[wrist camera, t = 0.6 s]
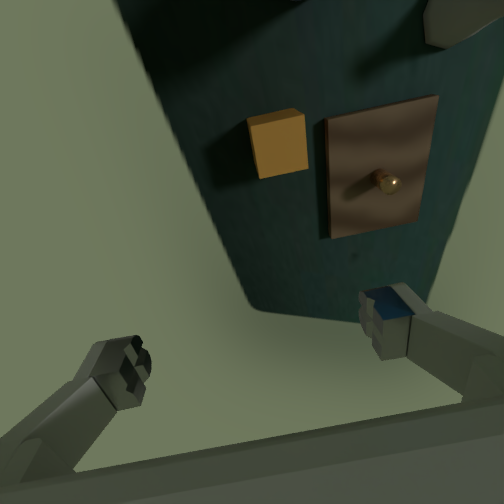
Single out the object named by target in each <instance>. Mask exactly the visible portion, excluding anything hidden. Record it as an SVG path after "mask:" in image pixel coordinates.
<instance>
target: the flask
mask: <svg viewBox="0 0 504 504" xmlns="http://www.w3.org/2000/svg"><path fill="white" fill-rule="evenodd" d="M503 16H504V0H429V1H428V3H427V6H426V8H425V11H424V13H423V21H424V32H425V43H426V44H429V45H433V46H436V47H440V48H444V49H448V48H450V47H452V46H454V45H455V44H457V43H459V42H461V41H463V40H465V39H467V38H469V37H471V36H472V35H474V34H475V33H477V32H478V31H480V30H481V29H483V28H484V27H486V26H487V25H488V24H490V23H492V22H493V21H495V20H496V19H498V18H500V17H503Z"/></svg>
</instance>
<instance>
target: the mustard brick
mask: <svg viewBox="0 0 504 504" xmlns="http://www.w3.org/2000/svg"><path fill="white" fill-rule="evenodd" d="M246 119H247V124H248V130H249V135H250V141H251V146H252V152H253V157H254V163H255V166H256V169H257V172H258V175H259V178H260V179H262V178H266V177H271V176H276V175H280V174H285V173H289V172H294V171H299V170H303V169H308V158H307V145H306V131H305V117H304V114H302V113H301V112H299V111H297V110H295V109H294V108H290V109H286V110H281V111H277V112H272V113H268V114H263V115H259V116H254V117H250V118H246Z"/></svg>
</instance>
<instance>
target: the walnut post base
mask: <svg viewBox="0 0 504 504" xmlns="http://www.w3.org/2000/svg"><path fill="white" fill-rule="evenodd" d="M438 99H439V95H433V94H431V95H426V96H422V97H417V98H413V99H408V100H404V101H399V102H395V103H390V104H385V105H381V106H376V107H372V108H367V109H363V110H358V111H354V112H349V113H345V114H340V115H336V116H331V117H327V118H324V121H325V149H326V176H327V204H328V231H329V236H330V237H331V239H334V238H339V237H344V236H348V235H353V234H358V233H363V232H368V231H373V230H377V229H382V228H387V227H392V226H397V225H401V224H406V223H411V222H416V221H418V215H419V209H420V204H421V198H422V192H423V186H424V180H425V174H426V169H427V163H428V157H429V151H430V145H431V139H432V134H433V128H434V122H435V116H436V110H437V105H438Z"/></svg>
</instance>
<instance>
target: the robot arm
mask: <svg viewBox="0 0 504 504" xmlns="http://www.w3.org/2000/svg"><path fill="white" fill-rule="evenodd" d="M359 301H360V303H361V304H362V306H361V308H360V309H359V319H360V323H361V326H362V328H363V330H364V332H365V334H366V336H368V337H370V338H372V346H373V348H374V349H375V351H376V353H377V354H378V356H379V358H380V359H381V360H382V361H383V360H389V359H396V358H402V357H407V358H408V359H409V360H411V361H412V362H414V363H415V364H417V365H418V366H420V367H421V368H423V369H424V370H426V371H427V372H429V373H430V374H432V375H433V376H435V377H436V378H438V379H439V380H440V381H442V382H444V383H445V384H446V385H448V386H449V387H451V388H452V389H454V390H455V391H457V392H458V393H460V394H461V395H463V397H462V401H461V403H457V404H451V405H446V406H440V407H435V408H430V409H424V410H418V411H413V412H407V413H402V414H396V415H391V416H385V417H380V418H374V419H369V420H363V421H358V422H353V423H348V424H342V425H336V426H331V427H325V428H320V429H315V430H309V431H304V432H298V433H292V434H287V435H282V436H276V437H271V438H265V439H260V440H254V441H248V442H243V443H237V444H232V445H227V446H221V447H215V448H210V449H204V450H199V451H193V452H188V453H182V454H177V455H171V456H166V457H160V458H155V459H149V460H144V461H138V462H133V463H127V464H122V465H116V466H111V467H106V468H100V469H94V470H88V471H83V472H77V473H76V472H75V471H74V470H73V468H74V467H75V466H76V464H77V463H78V462H79V461H80V459H81V458H82V456H83V455H84V454H85V453H86V451H87V450H88V449H89V448H90V446H91V445H92V444H93V443H94V441H95V440H96V439H97V437H98V436H99V435H100V433H101V432H102V431H103V430H104V428H105V427H106V426H107V425H108V423H109V422H110V421H111V420H112V418H113V417H114V416H115V414H116V413H117V411H119V410H124V409H129V408H133V407H137V406H141V403H142V400H143V397H144V393H145V390H146V387H145V385H144V382H145V381H146V380H147V379H148V378H149V377H150V373H151V357H150V355H149V353H148V351H147V350H145V349H143V348H142V347H141V346H142V344H143V341H142V340H141V338H140V336H138V335H133V336H127V337H122V338H115V339H110V340H105V341H99V342H96V343H95V344H93V345H92V347H91V349H90V351H89V352H88V354H87V356H86V358H85V360H84V361H83V363H82V365H81V366H80V368H79V370H78V372H77V373H76V375H75V377H74V379H73V380H72V381H69V382H67V383H66V384H64V386H62V387H61V388H60V389H59V390H58V391H56V392H55V393H54V394H53V395H51V396H50V397H49V398H48V399H47V400H45V401H44V402H43V403H42V404H41V405H39V406H38V407H37V408H36V409H35V410H33V411H32V412H31V413H30V414H29V415H28V416H26V417H25V418H24V419H23V420H22V421H21V422H19V423H18V424H17V425H16V426H14V427H13V428H12V429H11V430H10V431H9V432H7V433H6V434H5V435H4V436H3V437H1V438H0V504H504V337H503V336H501V335H499V334H496V333H493V332H491V331H488V330H486V329H483V328H480V327H478V326H475V325H473V324H470V323H467V322H465V321H462V320H460V319H457V318H455V317H452V316H450V315H447V314H444V313H442V312H439V311H435V312H433V311H432V310H431V309H430V308H429V307H428V306H427V305H426V304H425V303H424V302H423V301H422V300H421V299H420V298H419V297H418V296H417V295H416V294H415V293H414V292H413V291H412V290H411V289H410V288H409V287H408V286H407V285H406V284H405V283H403V282H401V283H397V284H392V285H388V286H384V287H379V288H374V289H369V290H364V291H360V293H359Z"/></svg>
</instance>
